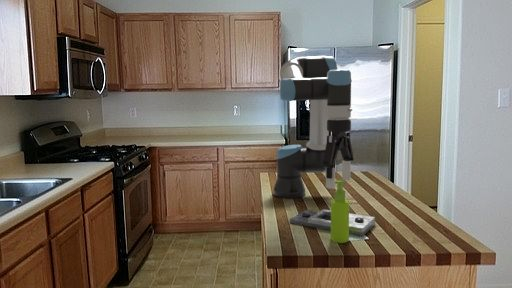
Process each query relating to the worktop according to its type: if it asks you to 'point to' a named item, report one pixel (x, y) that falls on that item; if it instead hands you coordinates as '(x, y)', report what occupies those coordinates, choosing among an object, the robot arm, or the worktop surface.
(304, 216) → the lower link
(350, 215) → the upper link
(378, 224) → the worktop surface
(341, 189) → the soap dispenser
